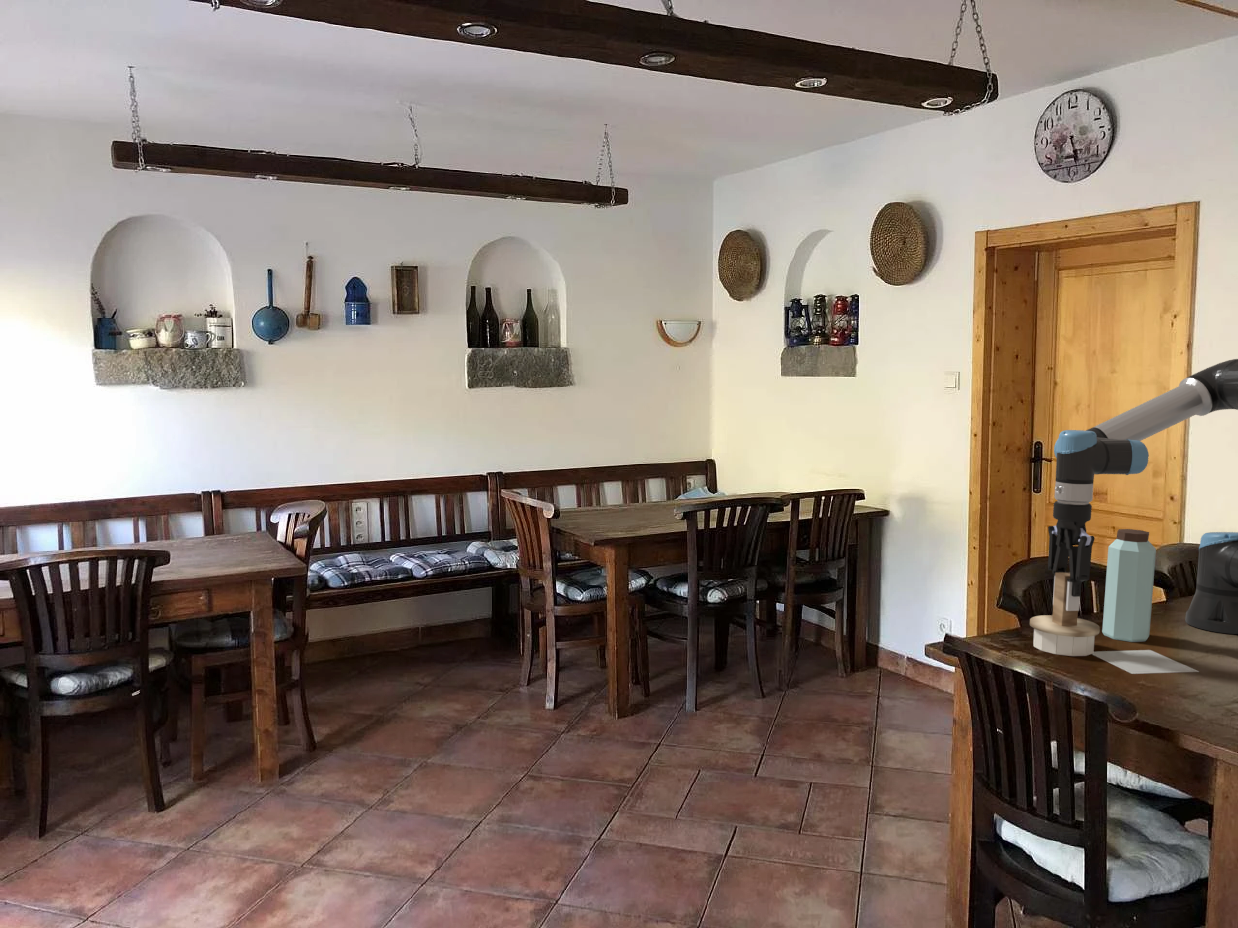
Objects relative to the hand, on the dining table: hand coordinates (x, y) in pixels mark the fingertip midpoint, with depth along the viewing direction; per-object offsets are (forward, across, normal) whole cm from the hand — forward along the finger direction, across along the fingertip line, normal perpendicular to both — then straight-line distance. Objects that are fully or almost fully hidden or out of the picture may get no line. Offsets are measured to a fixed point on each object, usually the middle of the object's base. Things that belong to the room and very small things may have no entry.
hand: (1065, 607), depth 219 cm
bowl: (+10, 0, 0) cm, 10 cm away
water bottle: (+10, -7, +20) cm, 23 cm away
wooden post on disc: (+5, 0, 0) cm, 5 cm away
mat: (+10, +11, +11) cm, 18 cm away
